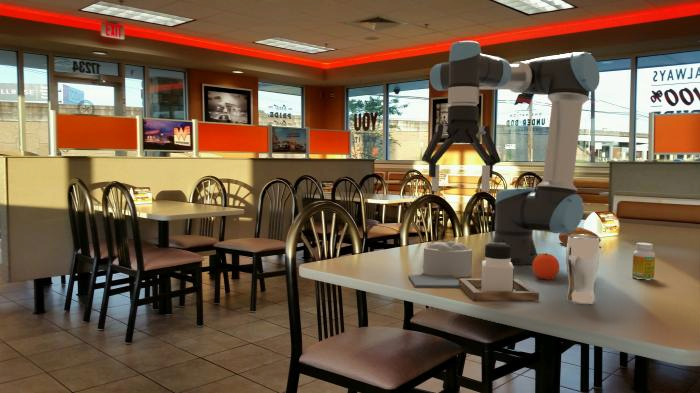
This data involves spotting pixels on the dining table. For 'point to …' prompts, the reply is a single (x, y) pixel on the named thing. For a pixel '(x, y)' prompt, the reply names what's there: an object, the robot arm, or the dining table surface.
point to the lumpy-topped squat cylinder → (447, 259)
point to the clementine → (545, 266)
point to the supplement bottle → (643, 261)
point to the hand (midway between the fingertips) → (460, 191)
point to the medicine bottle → (497, 268)
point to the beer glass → (582, 267)
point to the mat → (435, 281)
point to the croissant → (577, 231)
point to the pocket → (521, 294)
